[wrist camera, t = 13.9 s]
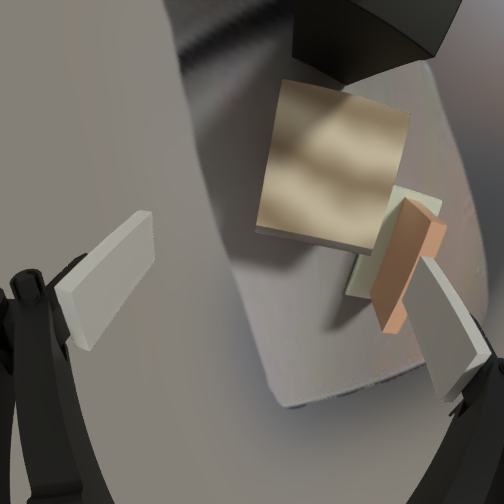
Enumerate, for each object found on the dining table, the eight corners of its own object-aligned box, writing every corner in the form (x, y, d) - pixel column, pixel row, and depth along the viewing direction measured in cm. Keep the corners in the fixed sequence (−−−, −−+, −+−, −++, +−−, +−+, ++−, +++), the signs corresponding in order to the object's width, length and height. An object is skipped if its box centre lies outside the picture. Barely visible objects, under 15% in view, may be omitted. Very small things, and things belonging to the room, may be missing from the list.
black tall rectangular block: (372, 41, 28) (502, -42, 4) (346, 86, 32) (468, 50, 7) (318, 11, 27) (360, -129, 3) (290, 56, 31) (291, -56, 6)
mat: (381, 181, 37) (383, 182, 36) (440, 199, 36) (442, 201, 36) (344, 291, 45) (345, 294, 44) (399, 301, 45) (400, 304, 44)
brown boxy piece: (284, 88, 33) (282, 78, 22) (376, 111, 33) (411, 113, 22) (264, 197, 40) (254, 232, 29) (350, 215, 40) (370, 256, 29)
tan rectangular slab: (404, 196, 36) (431, 221, 28) (419, 201, 36) (447, 226, 28) (369, 293, 44) (382, 332, 36) (382, 296, 44) (397, 334, 36)
